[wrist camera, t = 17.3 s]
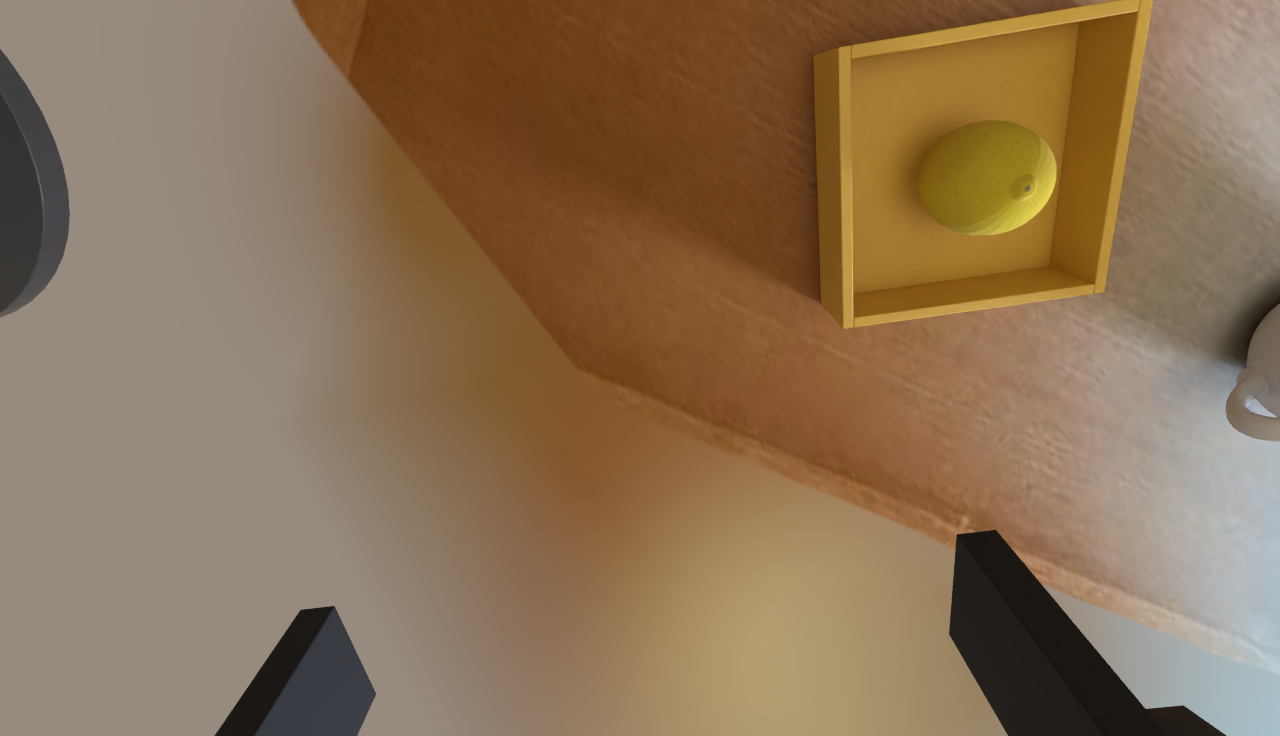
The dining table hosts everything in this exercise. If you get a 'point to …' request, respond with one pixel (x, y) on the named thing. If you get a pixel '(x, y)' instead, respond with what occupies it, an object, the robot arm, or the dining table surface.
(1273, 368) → the teacup
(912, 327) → the dining table surface
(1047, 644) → the robot arm
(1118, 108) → the yellow bin
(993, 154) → the lemon
